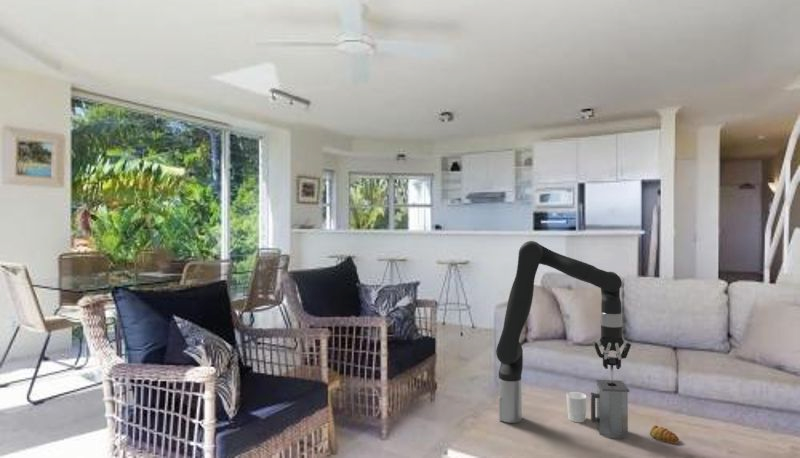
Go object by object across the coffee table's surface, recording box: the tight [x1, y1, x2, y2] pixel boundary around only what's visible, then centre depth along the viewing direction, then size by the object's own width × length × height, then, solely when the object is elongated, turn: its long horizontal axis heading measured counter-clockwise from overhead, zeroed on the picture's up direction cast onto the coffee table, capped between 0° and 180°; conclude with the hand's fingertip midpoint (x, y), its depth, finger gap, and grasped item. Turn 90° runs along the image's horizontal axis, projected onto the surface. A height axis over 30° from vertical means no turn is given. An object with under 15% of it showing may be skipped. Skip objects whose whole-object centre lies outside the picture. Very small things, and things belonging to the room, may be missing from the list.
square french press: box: [590, 379, 630, 440], centre depth 182 cm, size 13×10×19 cm
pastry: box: [649, 424, 680, 445], centre depth 176 cm, size 9×7×4 cm
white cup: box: [565, 391, 588, 423], centre depth 194 cm, size 8×8×10 cm
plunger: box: [607, 356, 617, 386], centre depth 181 cm, size 8×8×15 cm
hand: (611, 368), depth 181 cm, fingers closed on plunger, 3 cm apart
